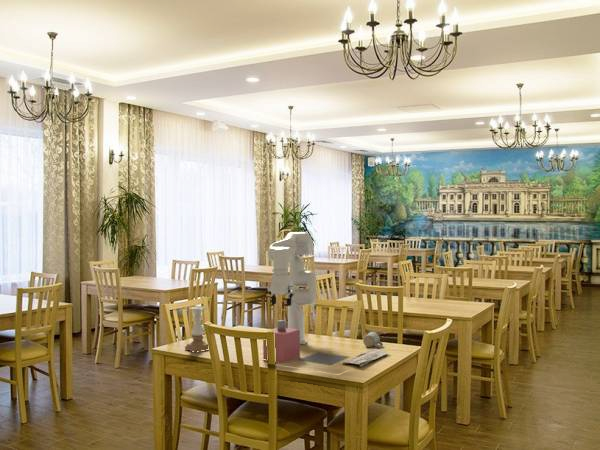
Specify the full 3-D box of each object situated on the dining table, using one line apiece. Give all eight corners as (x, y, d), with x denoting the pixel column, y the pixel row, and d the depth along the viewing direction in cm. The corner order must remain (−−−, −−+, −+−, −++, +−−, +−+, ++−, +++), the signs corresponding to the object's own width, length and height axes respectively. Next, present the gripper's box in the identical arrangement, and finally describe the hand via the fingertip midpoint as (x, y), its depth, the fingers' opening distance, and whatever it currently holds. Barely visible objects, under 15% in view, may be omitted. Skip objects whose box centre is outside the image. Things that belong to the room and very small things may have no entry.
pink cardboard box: (263, 360, 304) (262, 321, 304) (279, 355, 316) (279, 317, 315) (284, 363, 296) (283, 324, 296) (300, 358, 308) (299, 319, 308)
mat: (297, 361, 302) (297, 359, 302) (318, 353, 318) (318, 352, 318) (330, 366, 290) (330, 364, 290) (350, 358, 307) (350, 356, 307)
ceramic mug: (362, 347, 333) (362, 333, 333) (367, 344, 340) (367, 331, 340) (380, 349, 328) (380, 335, 328) (384, 346, 335) (385, 332, 335)
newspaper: (369, 352, 321) (369, 346, 321) (390, 355, 314) (390, 348, 314) (340, 367, 290) (340, 360, 290) (363, 370, 284) (363, 363, 284)
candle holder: (194, 353, 322) (194, 309, 322) (184, 349, 330) (183, 307, 330) (211, 350, 329) (211, 307, 329) (201, 347, 338) (200, 305, 337)
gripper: (263, 272, 307) (263, 304, 308) (290, 273, 298) (290, 307, 298) (271, 270, 314) (272, 302, 314) (298, 272, 304) (299, 305, 304)
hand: (281, 304), depth 306 cm, fingers open, 9 cm apart
